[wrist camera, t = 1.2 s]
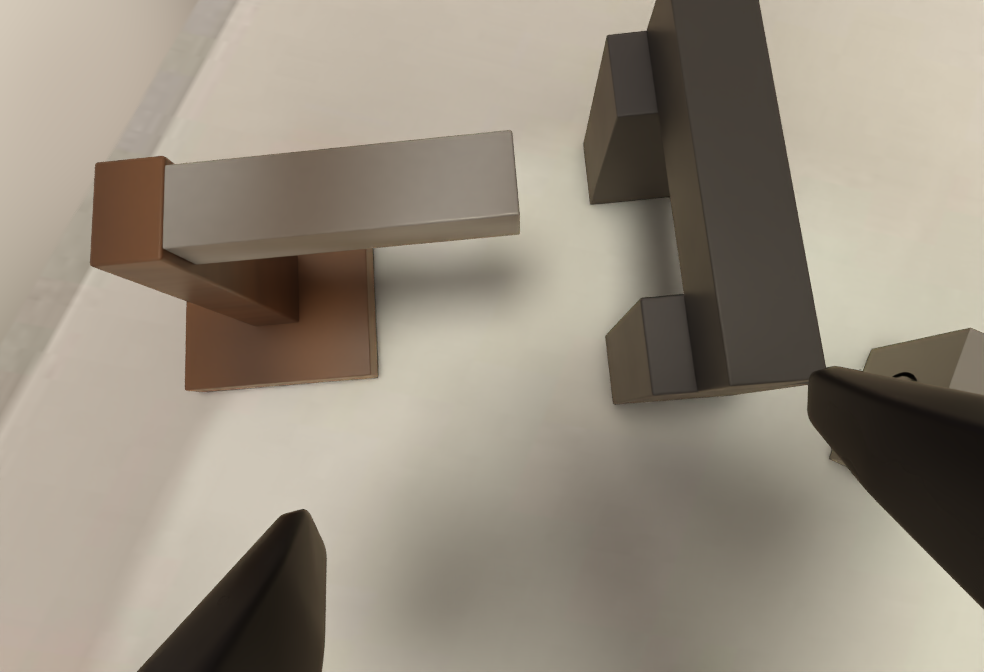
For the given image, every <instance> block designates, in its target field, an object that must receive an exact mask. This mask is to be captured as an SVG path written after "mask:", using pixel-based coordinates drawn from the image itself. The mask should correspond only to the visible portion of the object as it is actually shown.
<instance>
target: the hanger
mask: <svg viewBox="0 0 984 672" xmlns="http://www.w3.org/2000/svg"><path fill="white" fill-rule="evenodd" d="M519 233H520V212H519V201H518V190H517V179H516V168H515V157H514V146H513V135H512V131H511V130H506V131H497V132H487V133H477V134H467V135H457V136H448V137H438V138H428V139H418V140H408V141H399V142H389V143H379V144H369V145H359V146H350V147H340V148H330V149H320V150H310V151H301V152H291V153H281V154H271V155H261V156H252V157H242V158H232V159H222V160H212V161H203V162H193V163H183V164H174V163H173V162H171V161H170V160H169V159H167V158H166V157H164V156H157V157H147V158H137V159H128V160H118V161H108V162H98V163H96V164H95V178H94V197H93V217H92V236H91V255H90V265H91V266H92V267H95V268H98V269H100V270H103V271H106V272H108V273H111V274H114V275H117V276H119V277H122V278H125V279H128V280H130V281H133V282H136V283H138V284H141V285H144V286H147V287H149V288H152V289H155V290H158V291H160V292H163V293H166V294H168V295H171V296H174V297H177V298H179V299H182V300H185V301H187V309H186V360H185V390H186V391H196V392H208V391H221V390H233V389H245V388H257V387H269V386H281V385H293V384H305V383H317V382H329V381H341V380H353V379H366V378H377V377H378V363H377V339H376V314H375V290H374V266H373V248H379V247H390V246H401V245H412V244H422V243H433V242H444V241H454V240H465V239H476V238H487V237H497V236H508V235H518V234H519Z"/></svg>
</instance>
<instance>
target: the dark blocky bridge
mask: <svg viewBox="0 0 984 672" xmlns="http://www.w3.org/2000/svg"><path fill="white" fill-rule="evenodd" d="M583 145H584V154H585V163H586V172H587V180H588V189H589V198H590V204H599V203H609V202H620V201H630V200H641V199H651V198H662V197H670V199H671V206H672V213H673V220H674V227H675V234H676V241H677V248H678V255H679V262H680V269H681V276H682V284H683V291H684V294H679V295H667V296H656V297H645V298H641V299H640V300H639V301H638V302H637V303H636V304H635V305H634V306H633V307H632V308H631V309H630V310H629V311H628V312H627V313H626V315H625V316H624V317H623V318H622V319H621V320H620V321H619V322H618V323H617V324H616V325H615V326H614V327H613V328H612V329H611V331H610V332H609V333H608V334H607V335H606V346H607V355H608V363H609V372H610V381H611V390H612V398H613V404H615V405H616V404H628V403H641V402H654V401H666V400H679V399H692V398H704V397H717V396H730V395H738V394H745V393H752V392H759V391H766V390H774V389H781V388H788V387H795V386H802V385H808V381H809V377H810V375H811V373H813V372H814V371H817V370H821V369H824V368H826V365H825V360H824V354H823V349H822V343H821V338H820V332H819V327H818V321H817V316H816V310H815V305H814V300H813V294H812V289H811V283H810V278H809V272H808V267H807V261H806V256H805V250H804V245H803V239H802V234H801V228H800V223H799V218H798V212H797V207H796V201H795V196H794V190H793V185H792V179H791V174H790V168H789V163H788V157H787V152H786V146H785V141H784V136H783V130H782V125H781V119H780V114H779V108H778V103H777V97H776V92H775V86H774V81H773V75H772V70H771V64H770V59H769V54H768V48H767V43H766V37H765V32H764V26H763V21H762V15H761V10H760V4H759V0H656V2H655V6H654V9H653V12H652V15H651V18H650V21H649V25H648V28H647V31H641V32H631V33H622V34H613V35H607V38H606V42H605V47H604V51H603V56H602V61H601V65H600V70H599V74H598V79H597V84H596V88H595V93H594V97H593V102H592V107H591V111H590V116H589V121H588V125H587V130H586V134H585V139H584V144H583Z"/></svg>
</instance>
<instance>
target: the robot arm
mask: <svg viewBox="0 0 984 672" xmlns="http://www.w3.org/2000/svg"><path fill="white" fill-rule="evenodd" d="M807 411H808V416H809V419H810V421H811V423H812V425H813V426H814V427H815V428H816V430H817V431H818V432H819V433H820V435H821V436H822V437H823V438H824V440H825V441H826V442H827V443H828V444H829V446H830V447H831V448H832V449H833V451H834V452H835V453H836V454H837V455H838V457H839V458H840V459H841V460H842V462H843V463H844V464H845V465H846V466H847V468H848V469H849V470H850V471H851V473H852V474H853V475H854V476H855V478H856V479H857V480H858V481H859V482H860V484H861V485H862V486H863V487H864V488H865V489H866V490H867V492H868V493H869V494H870V495H871V496H872V497H873V498H874V499H875V500H876V501H877V502H878V503H879V504H880V505H881V506H882V507H883V508H884V509H885V510H886V511H887V512H888V513H889V514H890V515H891V516H892V517H893V519H894V520H895V521H896V522H897V523H898V524H899V525H900V526H901V527H902V528H903V529H904V530H905V531H906V532H907V533H908V534H909V535H910V536H911V537H912V538H913V539H914V540H915V541H916V542H917V543H918V544H919V545H920V546H921V547H922V548H923V549H924V550H925V551H926V552H927V553H928V554H929V555H930V556H931V557H932V558H933V559H934V560H935V561H936V562H937V563H938V564H939V565H940V566H941V567H942V568H943V569H944V570H945V571H946V572H947V573H948V574H949V575H950V576H951V577H952V578H953V579H954V580H955V581H956V582H957V583H958V584H959V585H960V586H961V587H962V588H963V589H964V590H965V591H966V592H967V593H968V594H969V595H970V596H971V597H972V598H973V599H974V600H975V601H976V602H977V603H978V604H979V605H980V606H981V607H982V608H983V609H984V395H982V394H977V393H971V392H966V391H961V390H956V389H951V388H946V387H941V386H936V385H931V384H925V383H920V382H915V381H910V380H905V379H900V378H895V377H890V376H885V375H879V374H874V373H869V372H864V371H859V370H854V369H849V368H844V367H838V366H832V367H828V368H824V369H821V370H817V371H814V372H813V373H811V375H810V377H809V381H808V406H807ZM326 566H327V556H326V549H325V545H324V543H323V540H322V538H321V536H320V534H319V532H318V530H317V527H316V525H315V523H314V521H313V519H312V517H311V515H310V513H309V512H308V511H307V510H305V509H301V510H297V511H293V512H290V513H286V514H283V515H281V516H280V517H279V518H278V519H277V520H276V521H275V522H274V523H273V524H272V525H271V526H270V528H269V529H268V530H267V531H266V532H265V533H264V534H263V535H262V536H261V537H260V538H259V540H258V541H257V542H256V543H255V544H254V545H253V546H252V547H251V548H250V549H249V550H248V552H247V553H246V554H245V555H244V556H243V557H242V558H241V559H240V560H239V561H238V562H237V563H236V565H235V566H234V567H233V568H232V569H231V570H230V571H229V572H228V573H227V574H226V575H225V577H224V578H223V579H222V580H221V581H220V582H219V583H218V584H217V585H216V586H215V587H214V588H213V590H212V591H211V592H210V593H209V594H208V595H207V596H206V597H205V598H204V599H203V600H202V602H201V603H200V604H199V605H198V606H197V607H196V608H195V609H194V610H193V611H192V612H191V614H190V615H189V616H188V617H187V618H186V619H185V620H184V621H183V622H182V623H181V624H180V625H179V627H178V628H177V629H176V630H175V631H174V632H173V633H172V634H171V635H170V636H169V637H168V639H167V640H166V641H165V642H164V643H163V644H162V645H161V646H160V647H159V648H158V649H157V650H156V652H155V653H154V654H153V655H152V656H151V657H150V658H149V659H148V660H147V661H146V662H145V663H144V665H143V666H142V667H141V668H140V669H139V670H138V671H137V672H322V666H323V657H324V648H325V620H326Z"/></svg>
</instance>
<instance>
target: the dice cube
mask: <svg viewBox="0 0 984 672" xmlns="http://www.w3.org/2000/svg"><path fill="white" fill-rule="evenodd" d="M864 372H869V373H874V374H879V375H885V376H890V377H895V378H900V379H905V380H910V381H915V382H920V383H925V384H931V385H936V386H941V387H946V388H951V389H956V390H961V391H966V392H971V393H977V394H982V395H984V333H982V332H980V331H977V330H975V329H973V328H967V329H962V330H958V331H953V332H949V333H944V334H939V335H935V336H930V337H925V338H921V339H916V340H911V341H907V342H902V343H897V344H893V345H888V346H884V347H879V348H874V349H872V350H871V353H870V355H869V358H868V360H867V363H866V365H865V368H864ZM829 459H831V460H833V461H835V462H837V463H840V464H842V465H844V466H846V465H845V464H844V463H843V462H842V460H841V459H840V458H839V457H838V455H837V454H836V453H835V452H834V451H833V450H832V453H831V456H830V458H829ZM846 467H847V466H846Z"/></svg>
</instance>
